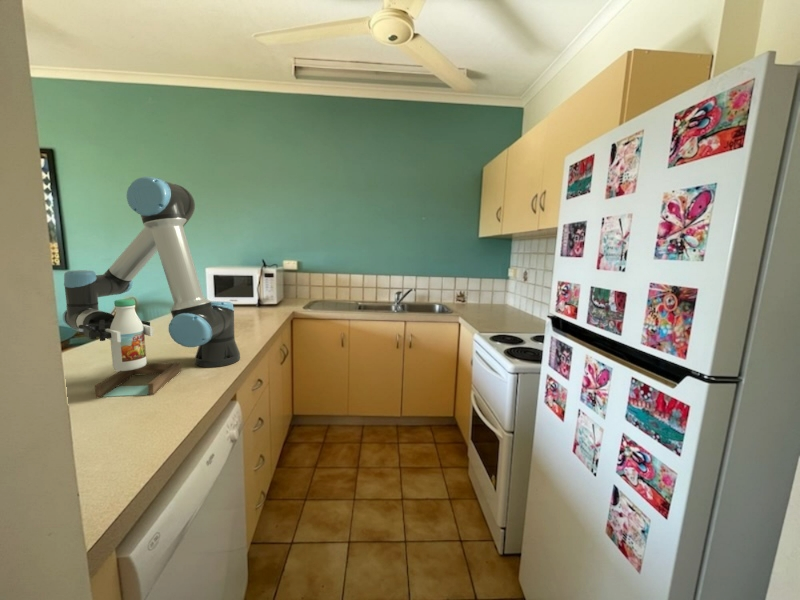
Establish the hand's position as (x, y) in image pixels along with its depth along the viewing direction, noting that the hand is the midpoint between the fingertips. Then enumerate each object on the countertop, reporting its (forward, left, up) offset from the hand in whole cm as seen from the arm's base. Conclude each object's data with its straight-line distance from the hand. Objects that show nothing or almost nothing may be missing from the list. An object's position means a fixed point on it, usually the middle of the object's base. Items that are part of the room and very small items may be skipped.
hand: (135, 334), depth 95 cm
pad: (+4, -3, -18) cm, 19 cm away
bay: (+4, -8, -18) cm, 20 cm away
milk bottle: (+3, -3, -11) cm, 12 cm away
